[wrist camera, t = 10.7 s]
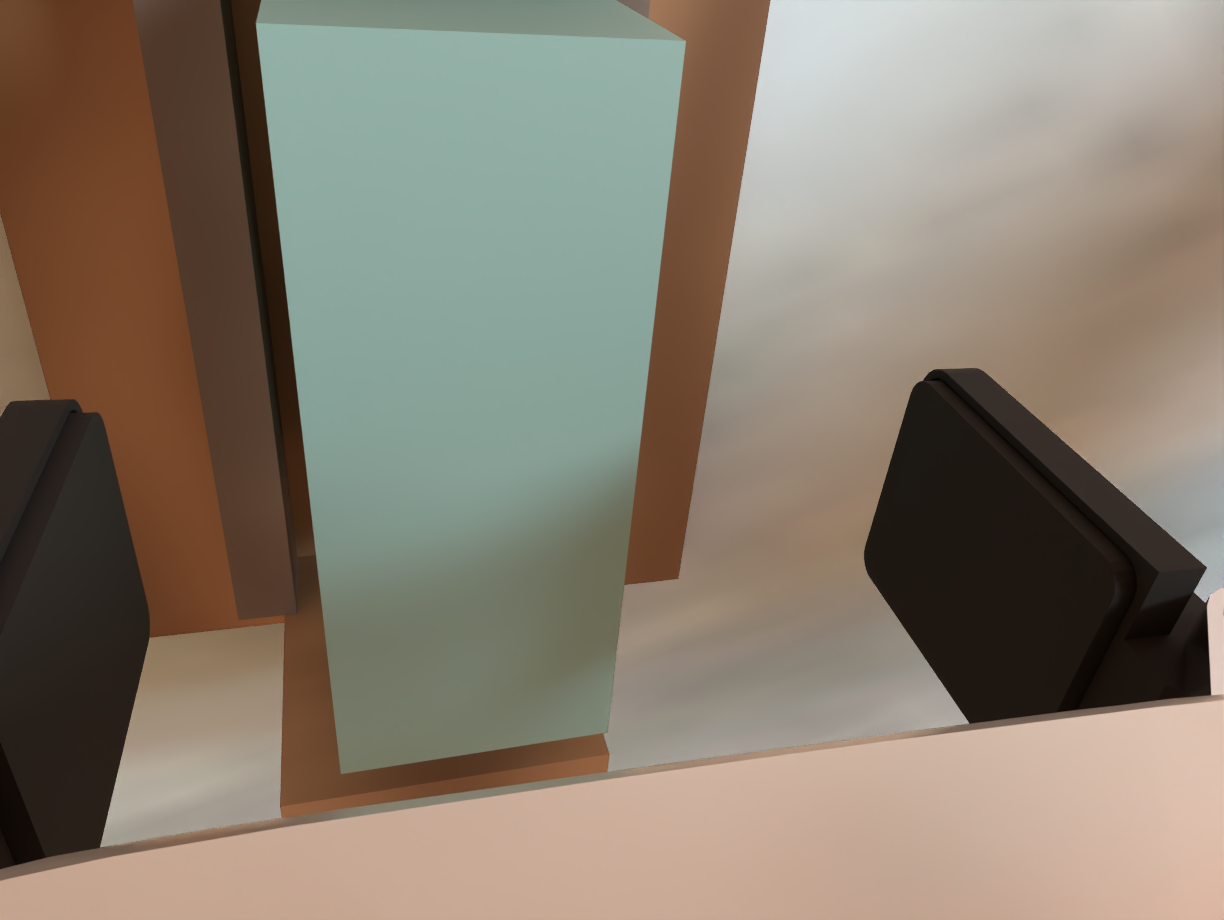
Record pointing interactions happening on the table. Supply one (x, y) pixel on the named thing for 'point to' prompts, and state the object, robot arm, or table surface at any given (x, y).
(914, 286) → the table surface
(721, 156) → the brown wooden holder
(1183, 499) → the table surface
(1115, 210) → the table surface
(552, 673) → the door panel
